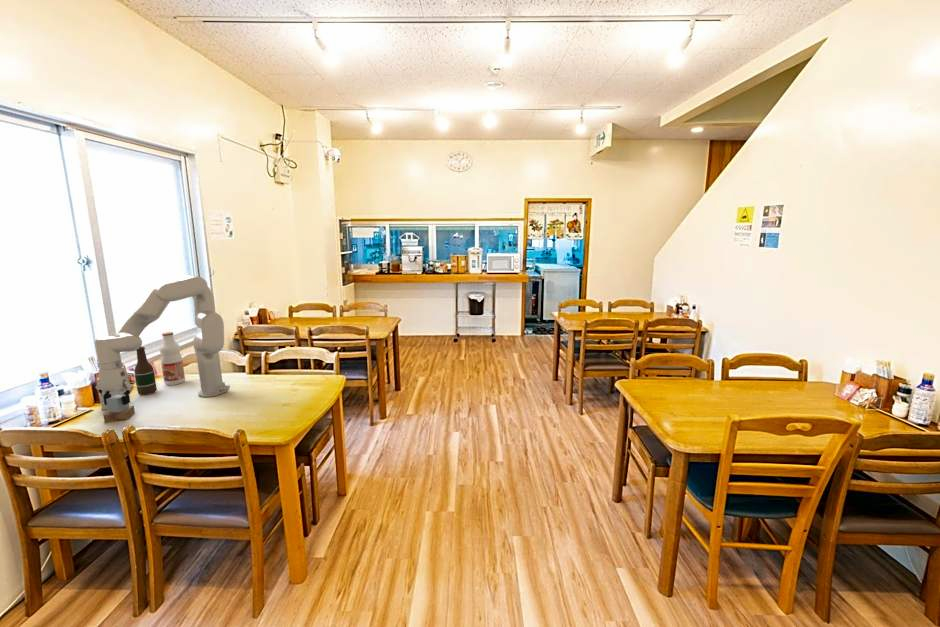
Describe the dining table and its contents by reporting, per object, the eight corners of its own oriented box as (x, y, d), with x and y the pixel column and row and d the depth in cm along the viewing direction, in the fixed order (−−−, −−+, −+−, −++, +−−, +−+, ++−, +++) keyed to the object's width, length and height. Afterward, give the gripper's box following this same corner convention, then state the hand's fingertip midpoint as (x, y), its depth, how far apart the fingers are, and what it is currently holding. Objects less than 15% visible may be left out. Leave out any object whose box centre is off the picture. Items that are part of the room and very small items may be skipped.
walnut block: (135, 413, 189) (133, 405, 189) (127, 420, 182) (125, 412, 181) (113, 416, 187) (112, 407, 186) (104, 423, 179) (103, 415, 179)
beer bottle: (160, 390, 218) (153, 345, 214) (148, 395, 210) (140, 349, 206) (147, 389, 219) (139, 345, 214) (134, 395, 211) (126, 349, 207)
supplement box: (101, 410, 193) (95, 379, 190) (106, 403, 201) (101, 373, 198) (125, 406, 197) (120, 376, 194) (130, 400, 205) (125, 370, 202)
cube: (129, 407, 186) (127, 395, 185) (119, 412, 181) (116, 399, 180) (118, 407, 186) (116, 394, 185) (108, 412, 182) (106, 399, 180)
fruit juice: (188, 381, 230) (180, 332, 225) (167, 386, 223) (159, 335, 218) (182, 378, 236) (174, 330, 231) (162, 383, 228) (154, 333, 223)
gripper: (137, 362, 183) (143, 400, 186) (99, 362, 184) (106, 400, 187) (122, 367, 176) (129, 407, 179) (83, 367, 177) (90, 407, 180)
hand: (117, 403), depth 183 cm, fingers open, 7 cm apart
